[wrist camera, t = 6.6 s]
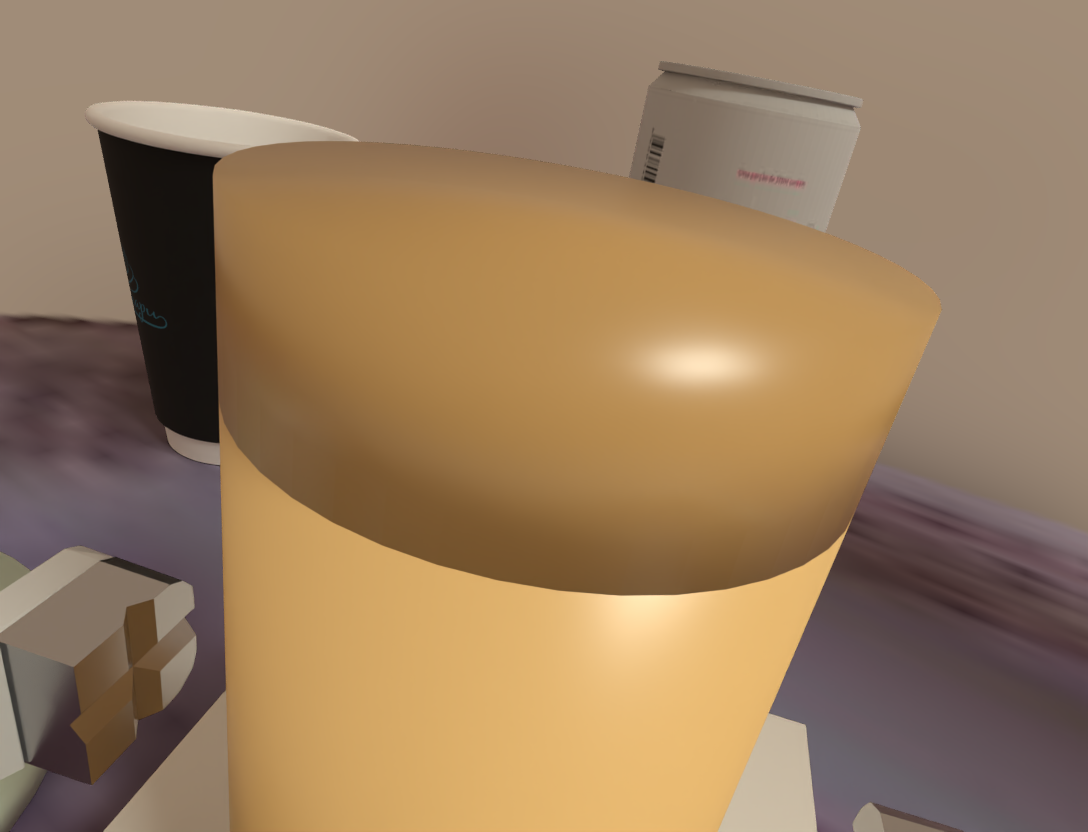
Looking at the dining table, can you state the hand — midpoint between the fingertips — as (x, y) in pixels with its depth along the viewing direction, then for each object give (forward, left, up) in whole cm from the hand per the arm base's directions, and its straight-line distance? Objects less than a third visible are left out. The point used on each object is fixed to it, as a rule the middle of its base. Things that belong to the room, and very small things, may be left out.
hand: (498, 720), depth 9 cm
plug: (0, 0, -8) cm, 8 cm away
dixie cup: (+21, +3, -8) cm, 22 cm away
